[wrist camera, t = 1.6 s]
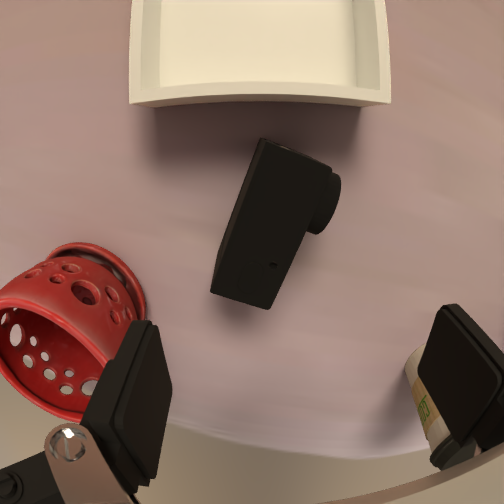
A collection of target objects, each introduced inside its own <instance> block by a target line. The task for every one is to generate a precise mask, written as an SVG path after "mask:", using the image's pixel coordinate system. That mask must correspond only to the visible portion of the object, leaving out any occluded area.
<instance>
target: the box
mask: <svg viewBox="0 0 504 504" xmlns="http://www.w3.org/2000/svg"><path fill="white" fill-rule="evenodd" d="M241 101H281V102H308V103H325V104H337V105H348V106H358V107H366V106H374V105H384V104H391V77H390V54H389V39H388V27H387V17H386V8H385V0H132V10H131V26H130V48H129V104H134V105H140V106H146V107H152V108H156V107H165V106H174V105H185V104H198V103H214V102H241Z"/></svg>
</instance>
